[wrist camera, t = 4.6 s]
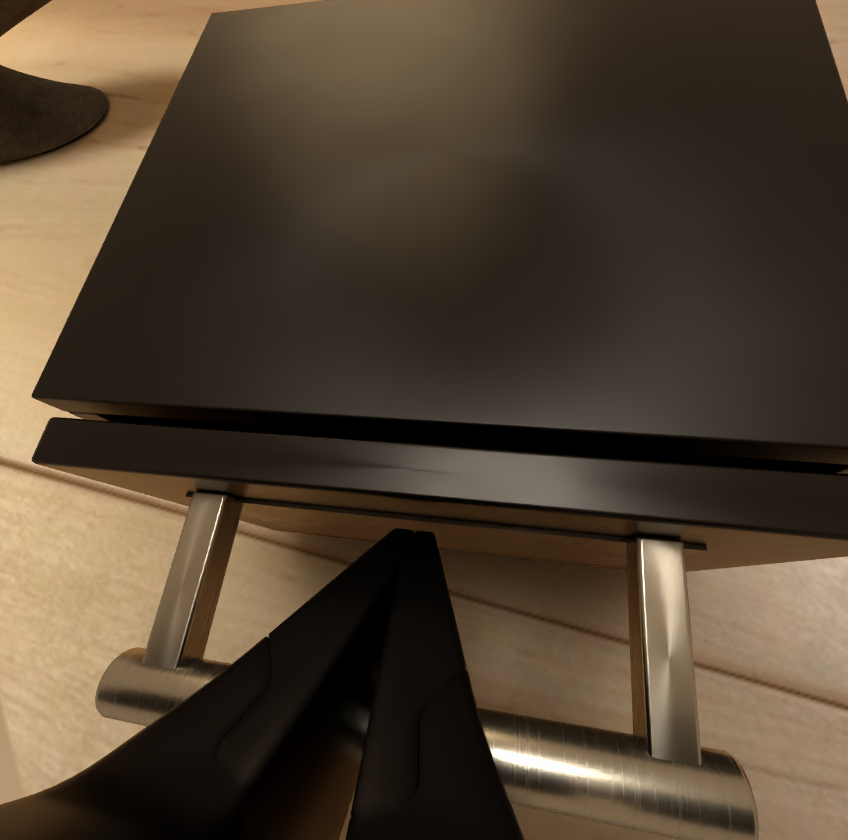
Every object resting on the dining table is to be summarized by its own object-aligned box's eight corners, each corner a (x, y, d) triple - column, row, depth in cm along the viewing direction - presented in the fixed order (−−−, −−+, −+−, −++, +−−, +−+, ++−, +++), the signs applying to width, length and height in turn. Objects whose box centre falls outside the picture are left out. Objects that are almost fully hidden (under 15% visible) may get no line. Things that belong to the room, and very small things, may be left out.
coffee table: (-67, 181, 35) (-248, 48, 27) (-33, 110, 39) (-185, -29, 30) (223, 120, 33) (127, -49, 24) (233, 50, 36) (151, -121, 27)
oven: (651, 544, 18) (962, 455, 6) (293, 507, 21) (29, 397, 9) (636, 286, 23) (799, -56, 11) (343, 284, 25) (211, 12, 13)
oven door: (671, 716, 14) (1068, 995, 4) (246, 646, 17) (-90, 721, 7) (660, 546, 16) (921, 477, 6) (279, 506, 19) (48, 415, 9)
